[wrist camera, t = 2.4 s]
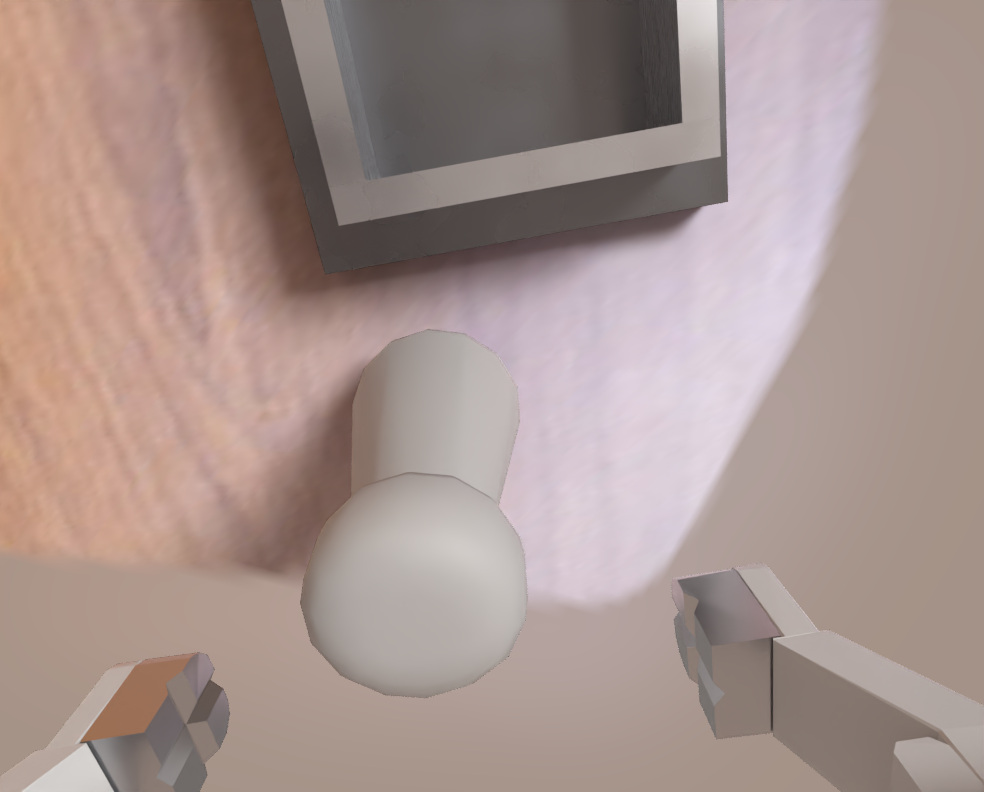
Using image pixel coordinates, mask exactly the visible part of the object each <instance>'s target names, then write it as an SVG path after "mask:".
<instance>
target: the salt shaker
mask: <svg viewBox="0 0 984 792" xmlns="http://www.w3.org/2000/svg"><path fill="white" fill-rule="evenodd" d="M519 423H520V415H519V401H518V387H517V385H516V384H515V382H514V380H513V379H512V377H511V376H510V374H509V372H508V371H507V369H506V368H505V366H504V364H503V363H502V361H501V360H500V358H499V356H498V355H497V354H496V353H495V352H493V351H492V350H490V349H489V348H487V347H485V346H484V345H482V344H481V343H479V342H478V341H476V340H474V339H473V338H471V337H470V336H468V335H466V334H463V333H455V332H447V331H439V330H430V329H428V330H424V331H421V332H418V333H415V334H412V335H409V336H406V337H403V338H400V339H397V340H394V341H392V342H391V343H389V344H388V345H387V346H386V347H385V348H384V349H383V350H382V351H381V352H380V353H379V354H378V355H377V356H376V357H375V358H374V360H373V361H372V362H371V363H370V364H369V365H368V366H367V367H366V368H365V369H364V370H363V373H362V376H361V379H360V382H359V385H358V388H357V391H356V394H355V398H354V401H353V406H352V459H351V497H350V498H349V499H348V500H347V501H346V502H345V503H344V504H343V505H342V506H341V507H340V508H339V509H338V510H337V511H336V512H335V513H334V514H333V515H332V516H330V517H329V518H328V519H327V521H326V523H325V524H324V526H323V528H322V530H321V532H320V534H319V536H318V538H317V540H316V543H315V546H314V549H313V552H312V555H311V558H310V561H309V564H308V567H307V570H306V573H305V576H304V579H303V587H302V594H301V601H300V604H301V608H302V611H303V615H304V619H305V623H306V626H307V629H308V633H309V637H310V641H311V643H312V645H313V646H314V647H315V648H316V649H317V650H318V651H319V652H320V653H321V654H322V655H323V656H324V658H325V659H326V660H327V661H328V662H329V663H330V664H331V665H332V666H333V668H334V669H335V670H336V671H337V672H338V673H339V674H340V675H342V676H343V677H345V678H347V679H349V680H351V681H353V682H356V683H358V684H361V685H363V686H365V687H368V688H370V689H372V690H375V691H377V692H379V693H382V694H384V695H391V696H405V697H419V698H428V697H431V696H435V695H438V694H442V693H445V692H448V691H451V690H455V689H458V688H461V687H465V686H468V685H470V684H472V683H474V682H476V681H477V680H478V679H480V678H481V677H482V676H484V675H485V674H486V673H487V672H489V671H490V670H492V669H493V668H494V667H496V666H497V665H498V664H500V662H502V661H503V660H505V659H506V658H507V657H509V654H510V652H511V650H512V648H513V646H514V644H515V641H516V639H517V637H518V635H519V633H520V631H521V629H522V627H523V625H524V622H525V620H526V610H527V599H528V594H527V579H526V564H525V554H524V550H523V546H522V543H521V539H520V536H519V535H518V533H517V532H516V530H515V529H514V528H513V526H512V525H511V523H510V522H509V521H508V519H507V518H506V516H505V515H504V514H503V512H502V511H501V509H500V508H499V503H500V499H501V495H502V491H503V487H504V483H505V479H506V475H507V471H508V467H509V463H510V459H511V455H512V451H513V447H514V443H515V439H516V435H517V431H518V427H519Z"/></svg>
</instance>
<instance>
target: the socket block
mask: <svg viewBox="0 0 984 792" xmlns="http://www.w3.org/2000/svg"><path fill="white" fill-rule="evenodd" d="M251 3H252V7H253V11H254V14H255V18H256V22H257V25H258V29H259V33H260V36H261V40H262V44H263V47H264V51H265V55H266V58H267V62H268V66H269V69H270V73H271V77H272V80H273V84H274V88H275V92H276V95H277V99H278V103H279V106H280V110H281V114H282V117H283V121H284V125H285V128H286V132H287V136H288V139H289V143H290V147H291V150H292V154H293V158H294V161H295V165H296V169H297V173H298V176H299V180H300V184H301V187H302V191H303V195H304V198H305V202H306V206H307V209H308V213H309V217H310V220H311V224H312V228H313V231H314V235H315V239H316V242H317V246H318V250H319V253H320V257H321V261H322V265H323V268H324V272H325V274H331V273H336V272H342V271H347V270H353V269H358V268H364V267H369V266H375V265H380V264H386V263H392V262H397V261H403V260H408V259H414V258H419V257H425V256H430V255H436V254H441V253H447V252H452V251H458V250H463V249H469V248H474V247H480V246H486V245H491V244H497V243H502V242H508V241H513V240H519V239H524V238H530V237H535V236H541V235H546V234H552V233H557V232H563V231H569V230H574V229H580V228H585V227H591V226H596V225H602V224H607V223H613V222H618V221H624V220H629V219H635V218H640V217H646V216H652V215H657V214H663V213H668V212H674V211H679V210H685V209H690V208H696V207H701V206H707V205H712V204H718V203H723V202H728V184H727V138H726V92H725V46H724V0H251Z"/></svg>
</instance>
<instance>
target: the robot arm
mask: <svg viewBox="0 0 984 792" xmlns="http://www.w3.org/2000/svg"><path fill="white" fill-rule="evenodd" d="M672 598H673V600H674V602H675V605H676V607H677V609H678V611H679V613H678V614H677V616H676V617H675V619H674V624H675V633H676V639H677V643H678V648H679V652H680V655H681V658H682V661H683V664H684V667H685V669H686V672H687V674H688V676H689V678H690V679H691V680H693V681H694V682H696V683H697V684H698V687H699V700H700V704H701V706H702V708H703V711H704V713H705V715H706V717H707V719H708V722H709V724H710V726H711V728H712V731H713V733H714V735H715V737H716V739H723V738H732V737H741V736H749V735H758V734H767V733H773V736H774V737H775V738H777V739H778V740H779V741H780V742H781V743H783V744H784V745H785V746H786V747H787V748H789V749H790V750H791V751H792V752H793V753H795V754H796V755H797V756H798V757H800V758H801V759H802V760H803V761H804V762H806V763H807V764H808V765H809V766H810V767H812V768H813V769H814V770H815V771H817V772H818V773H819V774H820V775H821V776H823V777H824V778H825V779H826V780H828V781H829V782H830V783H831V784H833V785H834V786H835V787H836V788H837V789H838V790H840V791H841V792H984V706H983V705H981V704H979V703H977V702H975V701H973V700H971V699H969V698H967V697H965V696H963V695H961V694H959V693H957V692H954V691H952V690H950V689H948V688H946V687H944V686H942V685H940V684H938V683H936V682H934V681H932V680H930V679H928V678H926V677H924V676H922V675H920V674H918V673H916V672H914V671H912V670H910V669H907V668H905V667H903V666H901V665H899V664H897V663H895V662H893V661H891V660H889V659H887V658H885V657H883V656H881V655H879V654H877V653H875V652H873V651H870V650H868V649H866V648H864V647H862V646H860V645H858V644H856V643H854V642H852V641H850V640H848V639H846V638H844V637H842V636H840V635H838V634H836V633H834V632H832V631H830V630H826V631H819V630H818V629H817V628H816V627H815V625H814V624H813V623H812V622H811V620H810V619H809V618H808V617H807V615H806V614H805V613H804V612H803V610H802V609H801V608H800V606H799V605H798V604H797V603H796V602H795V600H794V599H793V598H792V596H791V595H790V594H789V593H788V591H787V590H786V589H785V588H784V586H783V585H782V584H781V582H780V581H779V580H778V579H777V577H776V576H775V575H774V574H773V572H772V571H771V570H770V569H769V567H768V566H767V565H765V564H763V563H756V564H751V565H745V566H740V567H734V568H732V569H727V570H720V571H715V572H709V573H702V574H697V575H690V576H684V577H678V578H673V579H672ZM213 672H214V667H213V665H212V663H211V661H210V659H209V657H208V655H207V654H203V653H192V654H183V655H176V656H168V657H160V658H153V659H146V660H144V661H134V662H127V663H119V664H117V665H115V666H113V667H111V668H109V669H108V670H107V671H106V672H105V674H104V675H103V676H102V677H101V678H100V680H99V681H98V682H97V684H96V685H95V686H94V687H93V689H92V690H91V691H90V692H89V694H88V695H87V696H86V697H85V699H84V700H83V701H82V703H81V704H80V705H79V706H78V708H77V709H76V710H75V711H74V713H73V714H72V715H71V716H70V718H69V719H68V720H67V722H66V723H65V724H64V725H63V727H62V728H61V729H60V731H59V732H58V733H57V734H56V735H55V737H54V738H53V739H52V740H51V742H50V743H49V745H48V746H47V747H46V748H45V749H42V750H36V751H34V752H33V753H31V754H30V755H29V756H27V757H26V758H24V759H23V760H22V761H20V762H19V763H17V764H16V765H15V766H13V767H12V768H10V769H9V770H8V771H6V772H5V773H3V774H2V775H1V776H0V792H200V790H201V787H202V785H203V783H204V781H205V779H206V777H207V771H206V767H205V764H204V763H205V762H206V761H207V760H208V759H209V758H210V757H212V756H213V755H214V754H215V753H216V752H217V751H218V750H219V749H220V747H221V744H222V742H223V740H224V738H225V735H226V733H227V728H228V721H229V715H230V712H229V705H228V699H227V697H226V694H225V692H224V689H223V688H221V687H220V686H218V685H217V684H215V683H214V682H212V681H211V680H210V679H211V677H212V674H213Z"/></svg>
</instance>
